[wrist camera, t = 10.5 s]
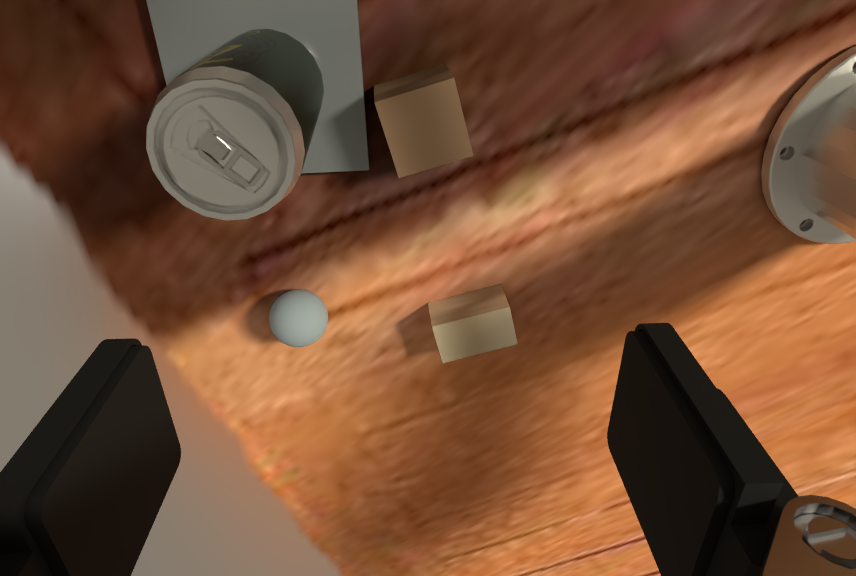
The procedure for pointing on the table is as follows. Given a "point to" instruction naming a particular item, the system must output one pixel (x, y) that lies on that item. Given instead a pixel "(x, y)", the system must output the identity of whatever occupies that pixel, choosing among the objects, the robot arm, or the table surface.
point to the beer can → (237, 125)
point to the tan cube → (422, 120)
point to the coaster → (304, 21)
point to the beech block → (472, 323)
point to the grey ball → (298, 318)
